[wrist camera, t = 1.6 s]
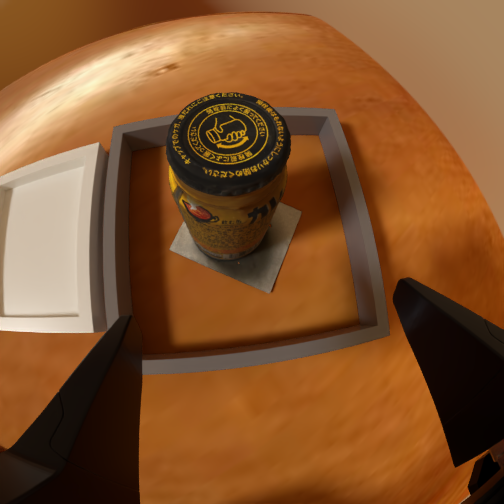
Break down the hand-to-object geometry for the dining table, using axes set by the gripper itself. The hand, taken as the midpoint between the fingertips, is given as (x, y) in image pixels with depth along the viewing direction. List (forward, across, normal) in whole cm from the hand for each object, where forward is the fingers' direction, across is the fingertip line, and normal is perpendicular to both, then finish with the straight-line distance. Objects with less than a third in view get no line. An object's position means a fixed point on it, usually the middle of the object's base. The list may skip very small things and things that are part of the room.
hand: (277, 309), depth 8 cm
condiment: (+13, 0, +4) cm, 14 cm away
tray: (+14, +19, +4) cm, 24 cm away
